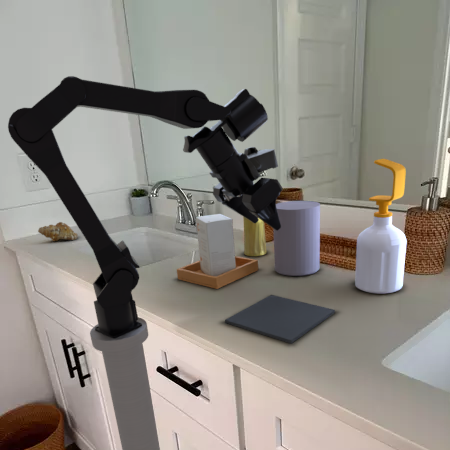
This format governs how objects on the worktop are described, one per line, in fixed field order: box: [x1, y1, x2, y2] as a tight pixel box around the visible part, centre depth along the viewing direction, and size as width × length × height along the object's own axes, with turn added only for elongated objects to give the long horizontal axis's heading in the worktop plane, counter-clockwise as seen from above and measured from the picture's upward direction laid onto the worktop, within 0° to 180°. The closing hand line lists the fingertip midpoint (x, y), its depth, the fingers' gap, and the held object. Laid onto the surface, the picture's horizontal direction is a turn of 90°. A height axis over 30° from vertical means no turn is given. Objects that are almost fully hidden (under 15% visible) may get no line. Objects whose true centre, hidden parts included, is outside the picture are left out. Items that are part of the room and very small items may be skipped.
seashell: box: [37, 221, 79, 242], centre depth 146 cm, size 9×8×10 cm
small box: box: [195, 213, 236, 277], centre depth 98 cm, size 8×6×13 cm
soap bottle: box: [354, 158, 408, 295], centre depth 82 cm, size 9×9×25 cm
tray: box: [176, 255, 259, 290], centre depth 101 cm, size 15×13×2 cm
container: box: [273, 200, 321, 277], centre depth 97 cm, size 10×10×15 cm
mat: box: [224, 294, 336, 344], centre depth 76 cm, size 14×14×1 cm
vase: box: [242, 216, 268, 257], centre depth 112 cm, size 6×6×14 cm
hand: (267, 225), depth 84 cm, fingers open, 9 cm apart
